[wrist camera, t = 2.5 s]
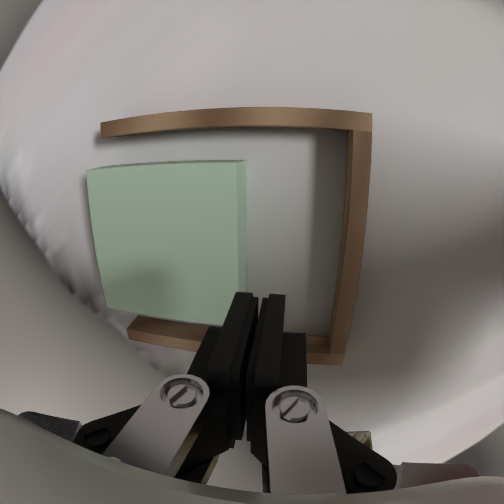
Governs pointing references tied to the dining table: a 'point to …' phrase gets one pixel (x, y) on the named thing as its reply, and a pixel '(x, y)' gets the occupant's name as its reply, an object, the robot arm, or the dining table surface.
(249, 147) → the dining table surface
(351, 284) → the u-shaped wooden frame
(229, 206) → the cover plate
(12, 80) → the dining table surface
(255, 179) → the dining table surface
